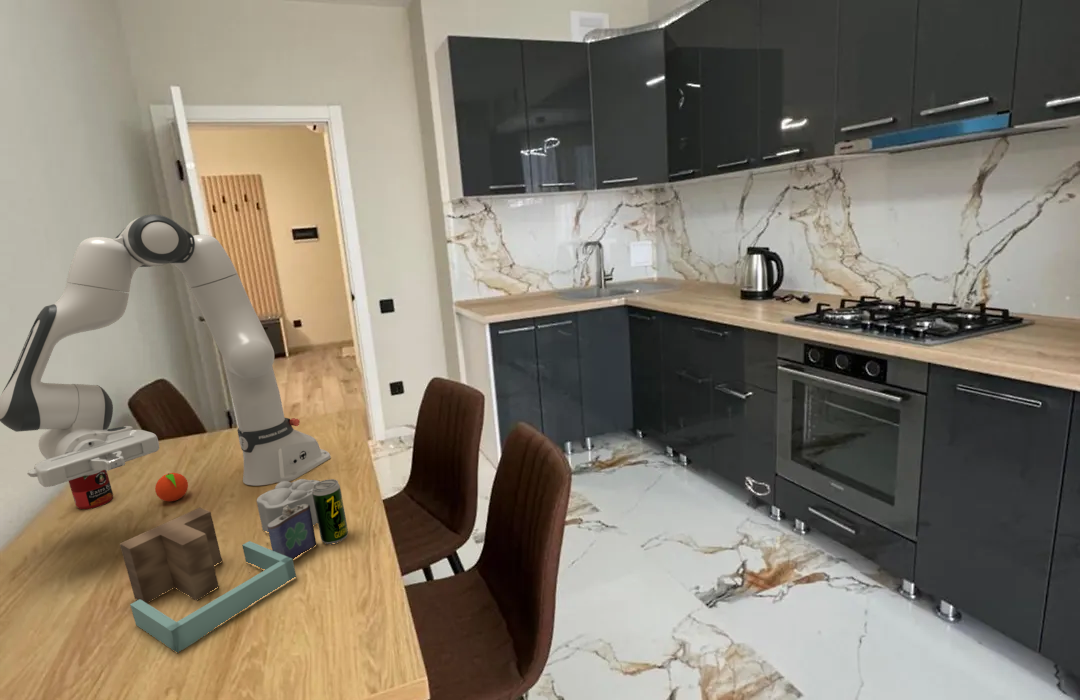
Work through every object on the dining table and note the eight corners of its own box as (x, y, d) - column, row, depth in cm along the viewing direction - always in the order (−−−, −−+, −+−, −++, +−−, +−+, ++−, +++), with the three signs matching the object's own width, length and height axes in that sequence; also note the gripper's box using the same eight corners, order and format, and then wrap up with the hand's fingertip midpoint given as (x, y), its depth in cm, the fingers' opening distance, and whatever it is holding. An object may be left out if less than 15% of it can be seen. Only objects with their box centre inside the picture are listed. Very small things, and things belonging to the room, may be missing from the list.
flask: (281, 570, 110) (270, 518, 107) (271, 566, 111) (260, 516, 109) (320, 544, 118) (310, 496, 115) (310, 541, 119) (300, 494, 117)
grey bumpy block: (258, 527, 127) (250, 491, 125) (315, 503, 136) (308, 469, 134) (277, 542, 120) (269, 504, 118) (336, 516, 129) (329, 480, 127)
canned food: (94, 510, 142) (82, 469, 140) (68, 509, 144) (56, 469, 142) (121, 495, 150) (111, 456, 147) (96, 495, 151) (85, 456, 149)
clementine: (196, 499, 144) (189, 472, 142) (164, 510, 139) (157, 483, 137) (186, 490, 149) (179, 465, 148) (155, 501, 144) (148, 475, 143)
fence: (253, 559, 114) (249, 541, 113) (296, 578, 107) (292, 558, 106) (136, 625, 97) (130, 604, 96) (177, 653, 90) (171, 631, 89)
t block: (211, 557, 116) (199, 507, 114) (245, 572, 110) (233, 520, 107) (134, 597, 105) (119, 543, 103) (166, 617, 99) (151, 560, 96)
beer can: (315, 544, 118) (305, 490, 115) (332, 530, 123) (322, 478, 120) (338, 546, 116) (327, 491, 113) (354, 532, 121) (344, 479, 118)
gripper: (19, 457, 111) (46, 469, 104) (137, 423, 128) (167, 431, 120) (28, 487, 113) (55, 501, 105) (143, 449, 129) (174, 459, 122)
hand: (116, 463), depth 113 cm, fingers closed
